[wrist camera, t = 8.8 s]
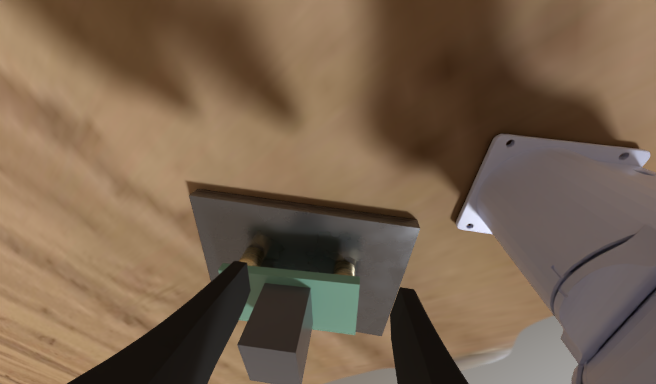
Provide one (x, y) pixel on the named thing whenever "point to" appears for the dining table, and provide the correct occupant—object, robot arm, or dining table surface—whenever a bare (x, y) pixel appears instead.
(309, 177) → the dining table surface
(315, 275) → the board
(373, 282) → the plate
